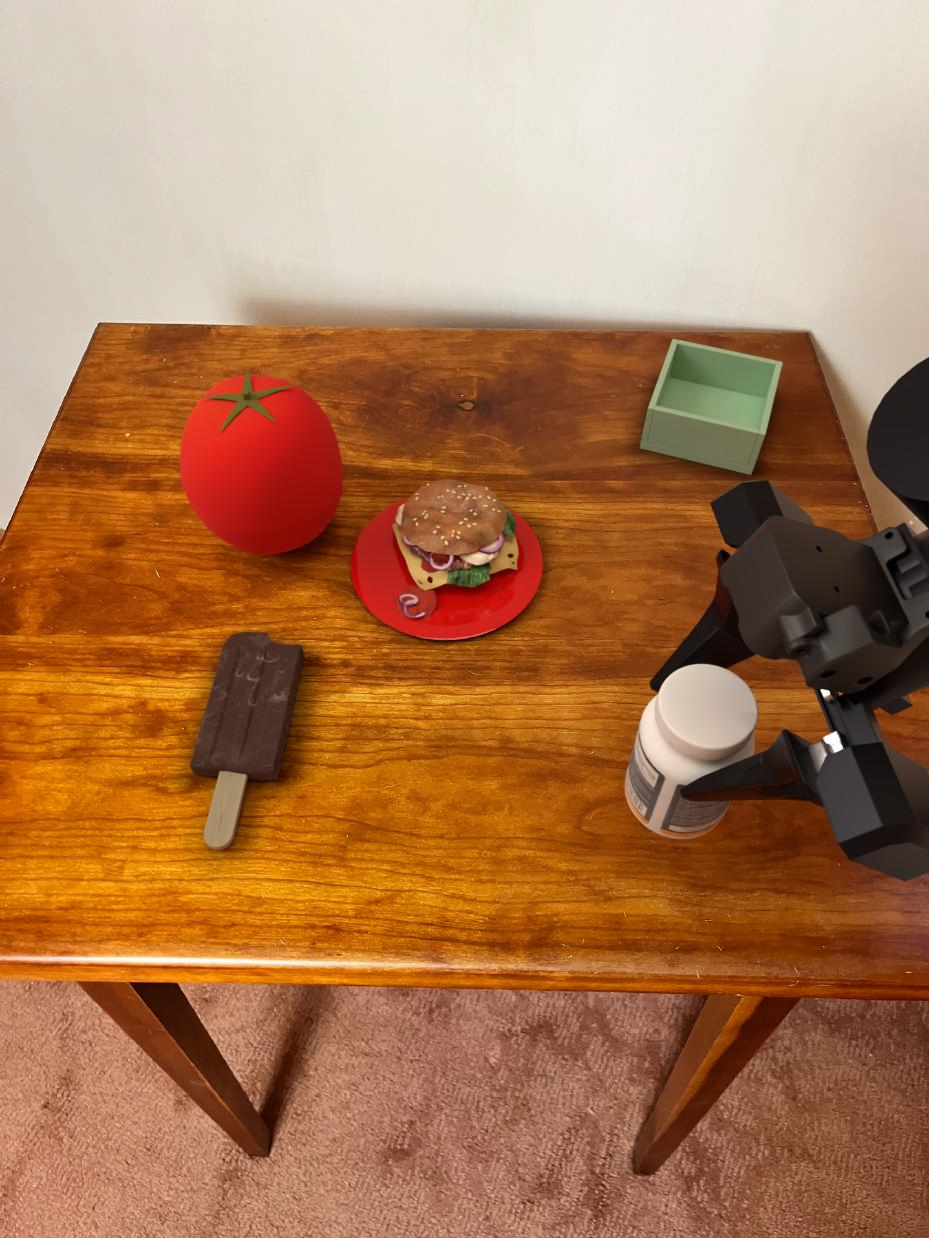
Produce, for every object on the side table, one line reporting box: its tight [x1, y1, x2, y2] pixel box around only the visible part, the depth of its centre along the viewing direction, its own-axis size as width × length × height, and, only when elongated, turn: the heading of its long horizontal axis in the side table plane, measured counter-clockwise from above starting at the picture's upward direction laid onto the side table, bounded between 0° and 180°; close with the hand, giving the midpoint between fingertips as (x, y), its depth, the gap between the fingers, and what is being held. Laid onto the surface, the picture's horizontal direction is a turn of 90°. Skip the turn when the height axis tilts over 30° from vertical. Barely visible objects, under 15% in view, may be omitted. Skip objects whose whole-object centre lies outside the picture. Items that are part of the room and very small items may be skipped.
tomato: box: [179, 368, 344, 556], centre depth 64 cm, size 11×11×13 cm
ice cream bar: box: [189, 631, 305, 851], centre depth 58 cm, size 5×2×15 cm
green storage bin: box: [639, 338, 783, 476], centre depth 74 cm, size 9×9×4 cm
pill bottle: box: [624, 664, 759, 840], centre depth 47 cm, size 6×6×10 cm
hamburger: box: [350, 478, 544, 641], centre depth 64 cm, size 14×14×6 cm
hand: (668, 740), depth 45 cm, fingers closed on pill bottle, 6 cm apart
